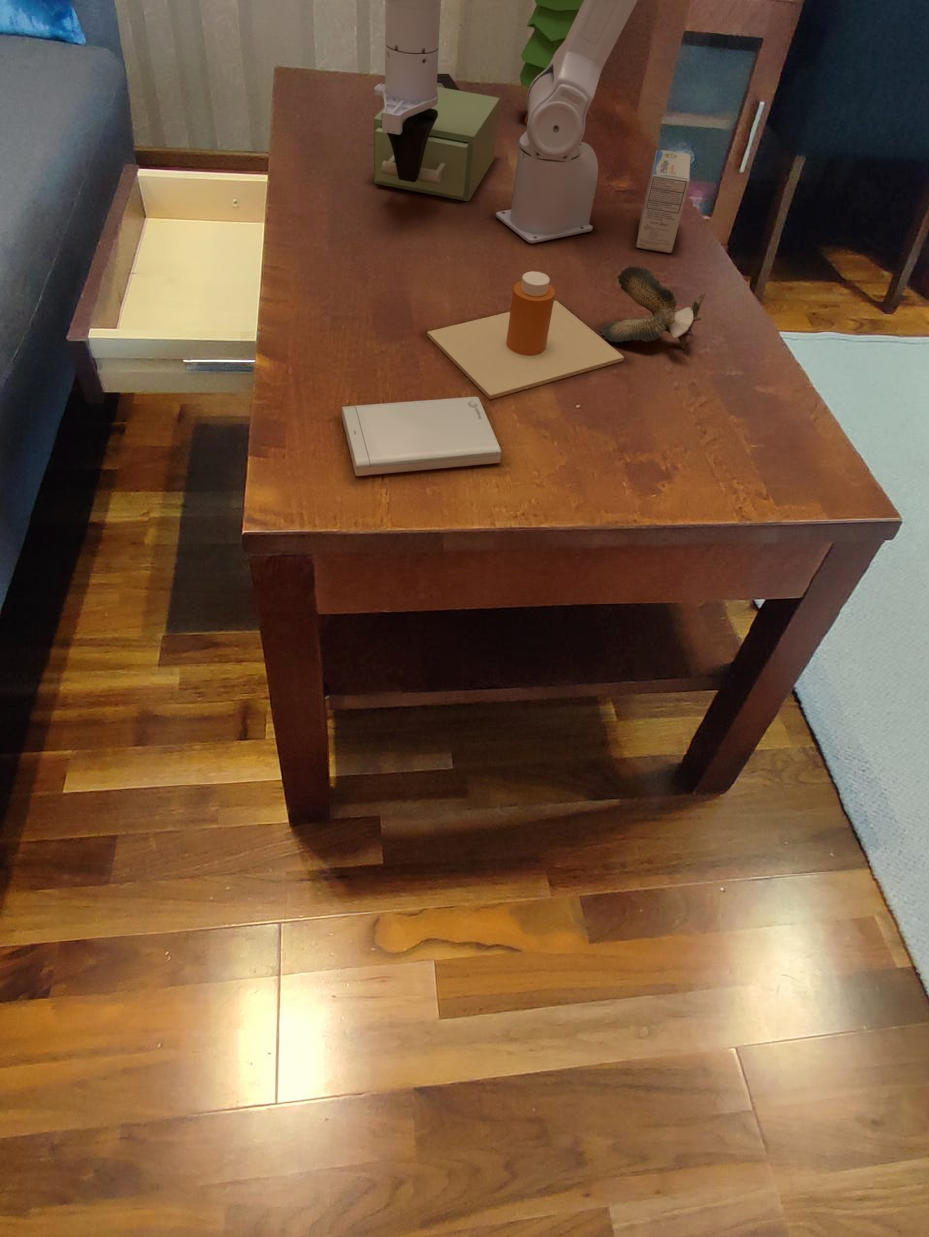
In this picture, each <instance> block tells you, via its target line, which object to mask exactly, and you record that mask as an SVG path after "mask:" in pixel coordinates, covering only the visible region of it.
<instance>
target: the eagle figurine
mask: <svg viewBox="0 0 929 1237" xmlns="http://www.w3.org/2000/svg"><path fill="white" fill-rule="evenodd" d="M616 278H617V279H618V284H619V285H620V289H621V290H622V291H623V292H624V293H626V294H627V295H628V296H629V297H630V298H631V299H632V300H633V301H634V302H635V303H636V304H637V305H639V306H641V307H643V308H645V309H646V310H647V311H649V312H650V313H651V314H652V315H651V316H650V317H649V316H648V317H641V318H638V317H637V318H628V319H624V320H623V319H622V320H621V321H611V322H610V323H606V324H605V326H602V327H600V329H599V332H600V334H601V336H603V337H604V340H605V339H606V340H607V341H608V342H612V343H623V342H631V341H640V340H641V342H645V343H648V342H652V341H657V340H658V339H659V338H660V336H661V335H663V334H664V332H666V333H669V334H671V337H672V338H673V339H678V341H679V346H680V348H681V349H682V350H684V349H685V348H686V344H687V340H688V336H690V337H693V336H694V333H693V330H692V328H693V326H694V323H695V322H696V321H701V320H702V318H701V317H700V316H698V315H699V312H700V309H701V307H702V303H703V300H704V298H705V296H706V293H705V292H702V293H701V294H700V296H699V297H698V298H697V300H694V301H693V303H692V306H691V307H690V306H687V307H684V308H682V309H679V310H677V311H675V309H676V306H677V299H676V297H675V295H674V292H672V290H671V288H667V287H666V286H663V285H662V284H661V283H660V280H658V279H656V277H655V275H653V274H652V272H651V270H650V269H648V268H647V267H643V266H641V267H640V266H636V265H628V267H625V268H624V269H622V270H621V271H620V273H619V274H618V275H617V277H616Z"/></svg>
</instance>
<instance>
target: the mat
mask: <svg viewBox="0 0 929 1237" xmlns="http://www.w3.org/2000/svg"><path fill="white" fill-rule="evenodd" d="M509 318H510V311H506V312H503V313H499V314H494V315H491V316H486V317H482V318H478V319H473V320H470V321H465V322H462V323H458V324H457V323H456V324H453V325H449V326H445V327H441V328H437V329H433V330H427V335H426V337H428V338H429V339H430V341H432V342H433V343H434V344H435V345H436V347H438V349H439V350H440V351H441V352H442V353H443V354H444V355H445V356H446V357H447V358H448V359H449V360H450V361H451V362H452V363H453V364H454V365H455V366H456V367H457V368H458V369H459V370H460V371H461V372H462V373H463V374H464V376H466V377H467V378H468V380H470V381H471V382H472V383H473V384H474V385H475V387H476V388H478V389H479V391H481V392H482V394H484V395H485V397H486V398H488V400H493V399H497V398H501V397H505V396H507V395H510V394H513V393H517V392H521V391H524V390H527V389H531V388H535V387H539V386H542V385H546V384H549V383H552V382H555V381H559V380H563V379H566V378H569V377H573V376H576V375H581V374H583V373H584V374H585V373H586V372H591V371H594V370H598V369H601V368H604V367H607V366H611V365H614V364H618V363H621V362H624V360H625V356H624V355H623V354H622V353H620V352H619V351H618V350H617V349H615V348H614V347H613V346H612V345H611V344H609V343H608V342H607V341H606V340H605V339H603V337H601V336H600V335H598V334H597V333H596V332H595V331H593V330H592V329H591V328H590V327H589V326H588V325H587V324H585V323H584V322H583V321H582V320H580V319H579V318H578V317H577V316H576V315H574V314H573V312H571V311H569V310H568V309H567V308H566V307H565V306H563V304H561V303H560V302H559V301H558V300H554V302H553V308H552V314H551V320H550V326H549V332H548V337H547V343H546V348H545V350H544V351H543V352H542V353H540V354H537V355H531V356H529V355H521V354H518V353H515V352H513V351H512V350H510V349H509V348H508V346H507V344H506V341H507V333H508V326H509Z"/></svg>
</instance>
